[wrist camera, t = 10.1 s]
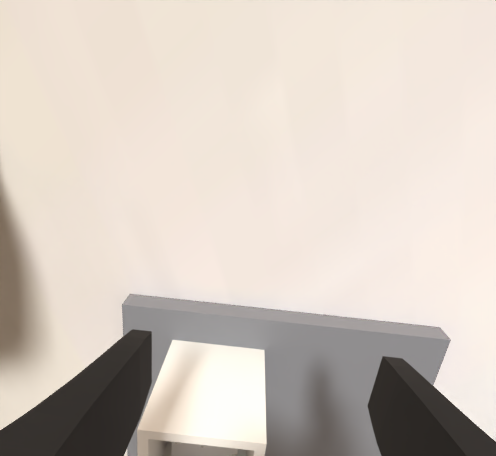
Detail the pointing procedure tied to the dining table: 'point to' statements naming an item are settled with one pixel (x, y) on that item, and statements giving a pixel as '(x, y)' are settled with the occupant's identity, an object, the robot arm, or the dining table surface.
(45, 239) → the dining table surface
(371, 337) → the duct panel
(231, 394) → the collar
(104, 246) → the dining table surface
